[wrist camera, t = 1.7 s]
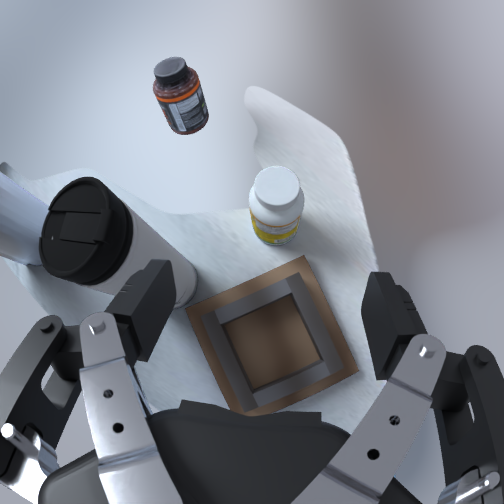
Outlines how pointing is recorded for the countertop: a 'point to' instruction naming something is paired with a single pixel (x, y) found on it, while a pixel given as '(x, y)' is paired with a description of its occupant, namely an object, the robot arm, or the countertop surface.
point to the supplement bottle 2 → (276, 205)
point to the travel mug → (105, 241)
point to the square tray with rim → (272, 340)
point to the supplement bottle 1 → (180, 96)
